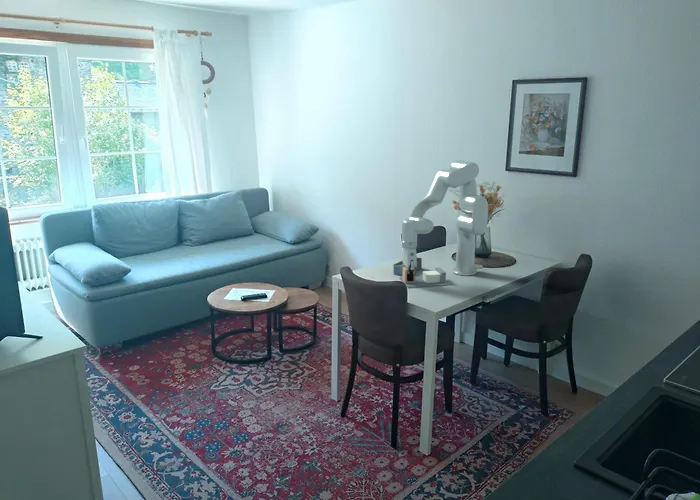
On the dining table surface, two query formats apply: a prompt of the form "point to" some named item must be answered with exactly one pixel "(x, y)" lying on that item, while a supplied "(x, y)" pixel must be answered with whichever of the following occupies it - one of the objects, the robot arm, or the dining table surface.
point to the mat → (422, 283)
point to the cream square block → (434, 276)
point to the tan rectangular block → (405, 272)
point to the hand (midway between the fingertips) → (408, 279)
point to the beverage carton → (399, 266)
